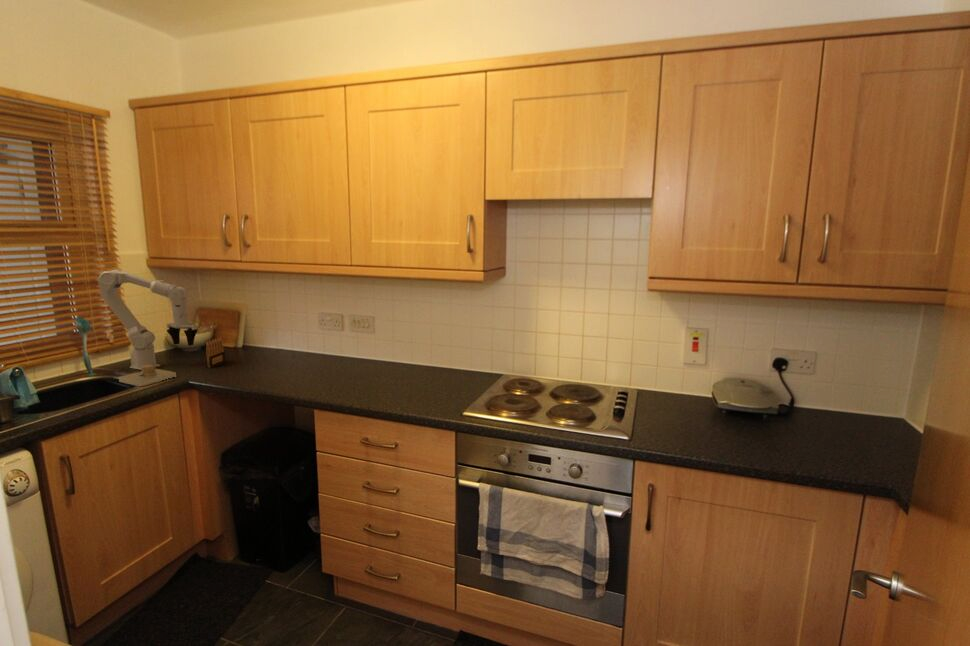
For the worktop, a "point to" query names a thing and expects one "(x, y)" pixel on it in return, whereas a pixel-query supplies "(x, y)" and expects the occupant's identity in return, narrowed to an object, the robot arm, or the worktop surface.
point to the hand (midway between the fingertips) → (183, 344)
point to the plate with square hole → (142, 381)
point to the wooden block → (148, 370)
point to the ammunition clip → (215, 353)
